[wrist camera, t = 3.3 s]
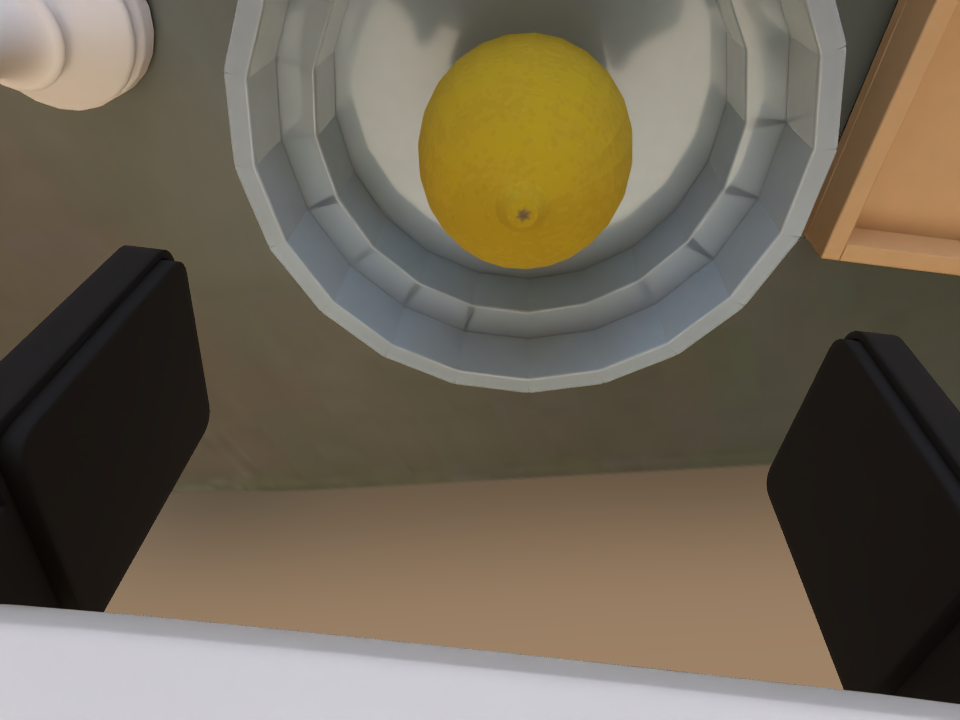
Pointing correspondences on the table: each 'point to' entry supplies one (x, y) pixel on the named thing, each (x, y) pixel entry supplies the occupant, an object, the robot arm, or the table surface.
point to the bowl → (618, 248)
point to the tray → (900, 152)
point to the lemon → (525, 150)
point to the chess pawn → (74, 49)
